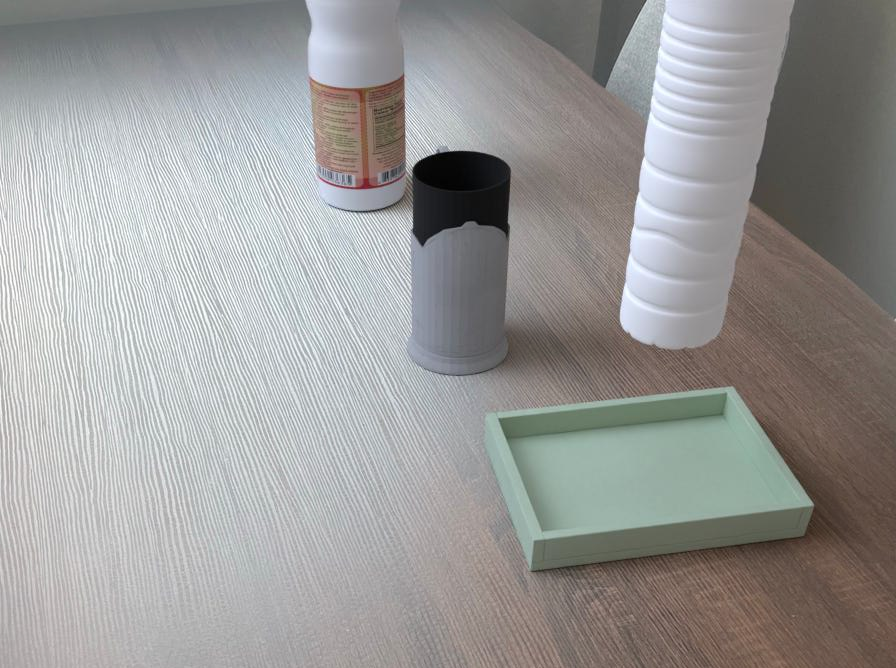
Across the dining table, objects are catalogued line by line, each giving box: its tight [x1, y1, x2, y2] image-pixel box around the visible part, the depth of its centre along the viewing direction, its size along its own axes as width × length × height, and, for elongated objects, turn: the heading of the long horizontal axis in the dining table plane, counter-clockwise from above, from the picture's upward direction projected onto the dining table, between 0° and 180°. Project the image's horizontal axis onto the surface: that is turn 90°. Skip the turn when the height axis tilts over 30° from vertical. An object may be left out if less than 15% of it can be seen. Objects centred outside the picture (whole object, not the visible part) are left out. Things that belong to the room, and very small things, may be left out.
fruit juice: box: [304, 0, 407, 212], centre depth 99 cm, size 9×9×28 cm
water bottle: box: [619, 0, 796, 350], centre depth 58 cm, size 9×6×25 cm
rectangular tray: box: [483, 386, 815, 572], centre depth 74 cm, size 20×15×3 cm
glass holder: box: [406, 145, 512, 376], centre depth 85 cm, size 9×14×15 cm, turn 9°
